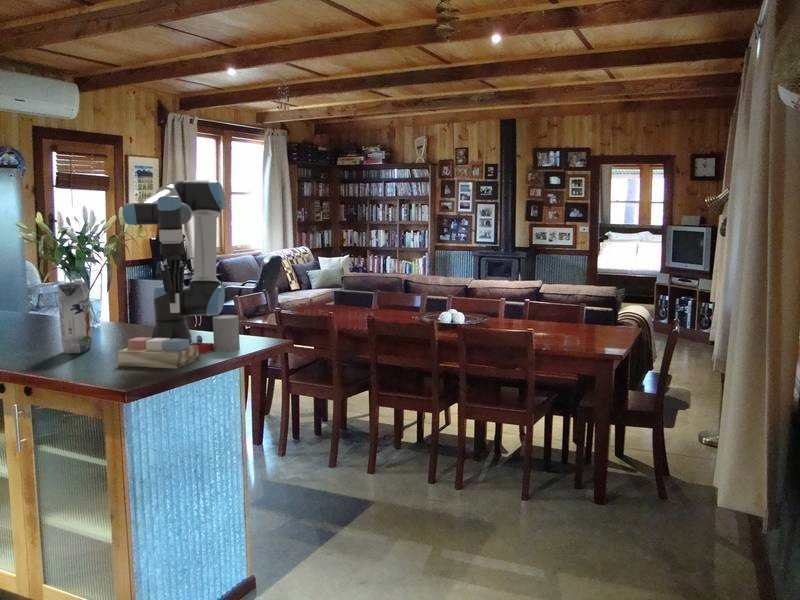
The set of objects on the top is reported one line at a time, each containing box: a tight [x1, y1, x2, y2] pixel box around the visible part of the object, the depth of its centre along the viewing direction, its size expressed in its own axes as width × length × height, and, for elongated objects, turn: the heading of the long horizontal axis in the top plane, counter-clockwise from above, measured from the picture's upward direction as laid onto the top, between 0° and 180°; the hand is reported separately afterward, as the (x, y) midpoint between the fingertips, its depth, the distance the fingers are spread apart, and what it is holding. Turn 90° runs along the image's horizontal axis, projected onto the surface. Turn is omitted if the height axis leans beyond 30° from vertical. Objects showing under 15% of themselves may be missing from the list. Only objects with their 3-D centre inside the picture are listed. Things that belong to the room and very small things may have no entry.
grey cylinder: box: [211, 314, 241, 353], centre depth 264 cm, size 10×10×12 cm
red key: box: [126, 336, 152, 349], centre depth 243 cm, size 6×6×3 cm
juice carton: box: [57, 278, 92, 354], centre depth 262 cm, size 9×10×27 cm
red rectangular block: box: [189, 334, 215, 355], centre depth 261 cm, size 8×7×6 cm
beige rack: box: [117, 345, 200, 369], centre depth 242 cm, size 14×22×5 cm, turn 76°
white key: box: [146, 338, 171, 350], centre depth 242 cm, size 6×6×3 cm
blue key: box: [165, 339, 190, 351], centre depth 240 cm, size 6×6×3 cm
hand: (175, 312), depth 238 cm, fingers closed
